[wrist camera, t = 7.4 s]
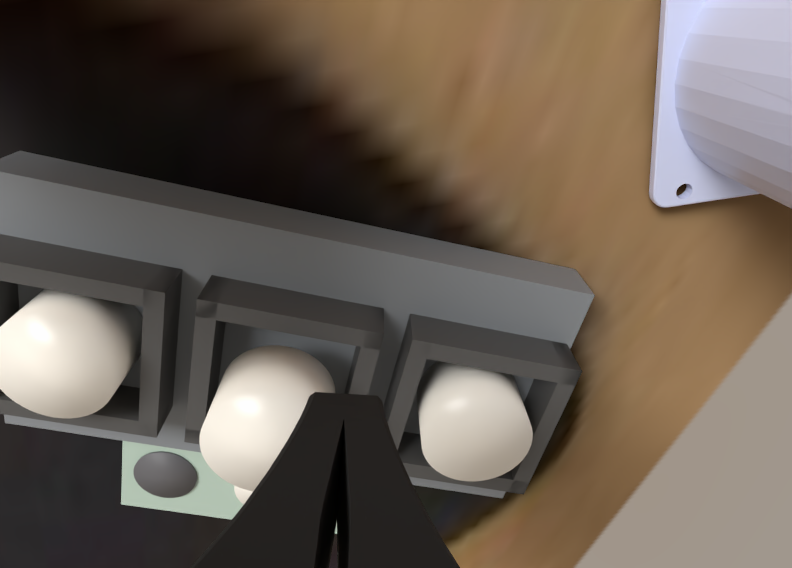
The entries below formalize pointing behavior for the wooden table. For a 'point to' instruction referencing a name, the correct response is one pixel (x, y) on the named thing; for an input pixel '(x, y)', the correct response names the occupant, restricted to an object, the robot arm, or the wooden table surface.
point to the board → (280, 304)
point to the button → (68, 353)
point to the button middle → (258, 411)
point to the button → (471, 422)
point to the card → (177, 482)
